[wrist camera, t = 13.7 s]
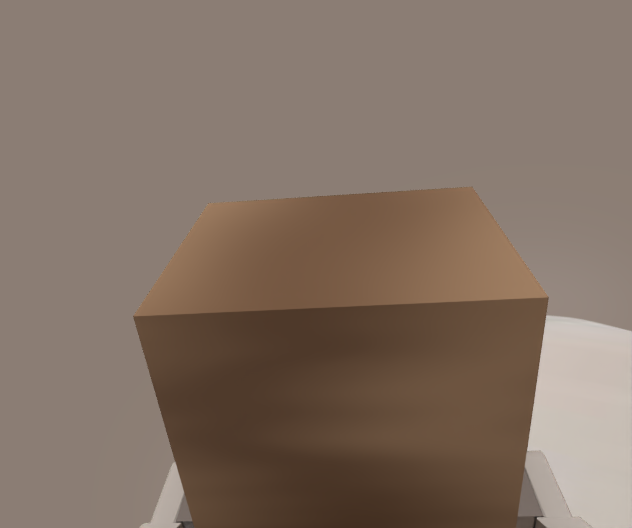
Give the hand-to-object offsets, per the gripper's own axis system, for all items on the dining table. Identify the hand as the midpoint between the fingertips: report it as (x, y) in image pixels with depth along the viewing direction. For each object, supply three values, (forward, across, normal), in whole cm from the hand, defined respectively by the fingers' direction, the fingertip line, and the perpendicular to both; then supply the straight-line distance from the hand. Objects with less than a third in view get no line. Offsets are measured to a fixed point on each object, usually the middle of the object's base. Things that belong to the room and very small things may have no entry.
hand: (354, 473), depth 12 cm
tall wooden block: (-1, 0, +8) cm, 8 cm away
